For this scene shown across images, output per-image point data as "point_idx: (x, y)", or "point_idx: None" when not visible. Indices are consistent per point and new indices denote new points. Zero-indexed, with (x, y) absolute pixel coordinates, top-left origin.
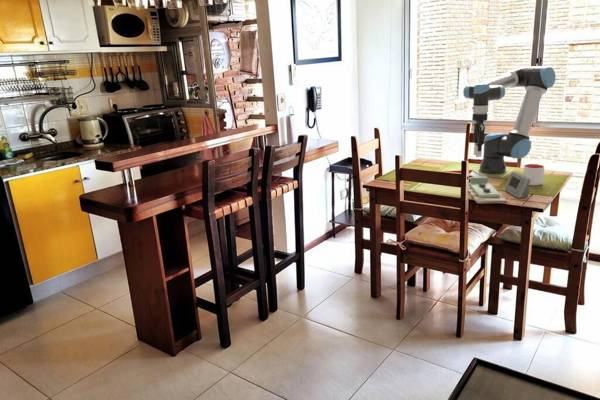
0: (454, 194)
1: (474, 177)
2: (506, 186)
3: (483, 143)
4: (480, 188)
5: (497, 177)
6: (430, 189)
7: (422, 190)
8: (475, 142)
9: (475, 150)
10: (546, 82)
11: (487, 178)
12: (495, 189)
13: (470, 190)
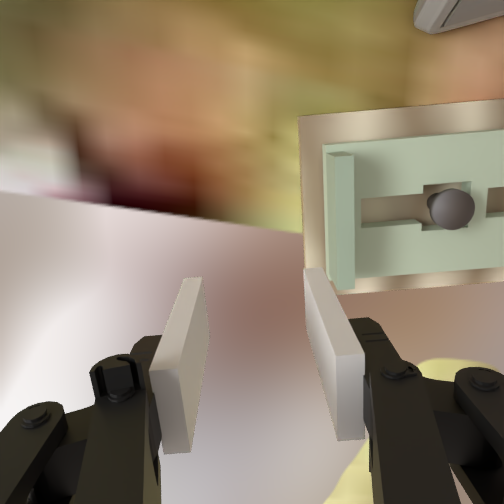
0: (459, 360)
1: (346, 260)
2: (457, 16)
3: (497, 378)
4: (487, 226)
5: (28, 6)
6: (348, 466)
7: (364, 500)
8: (157, 449)
9: (202, 355)
10: None
11: (351, 157)
12: (439, 107)
13: (441, 277)
